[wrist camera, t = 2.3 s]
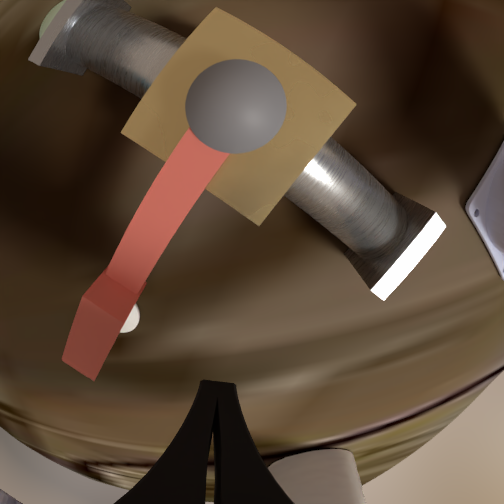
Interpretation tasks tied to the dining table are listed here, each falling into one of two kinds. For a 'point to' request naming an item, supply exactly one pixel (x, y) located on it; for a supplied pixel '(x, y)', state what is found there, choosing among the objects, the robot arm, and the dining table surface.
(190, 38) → the valve body
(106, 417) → the dining table surface
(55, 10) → the pale green round disc
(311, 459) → the toilet tissue
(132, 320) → the white flattened pebble
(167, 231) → the lever
